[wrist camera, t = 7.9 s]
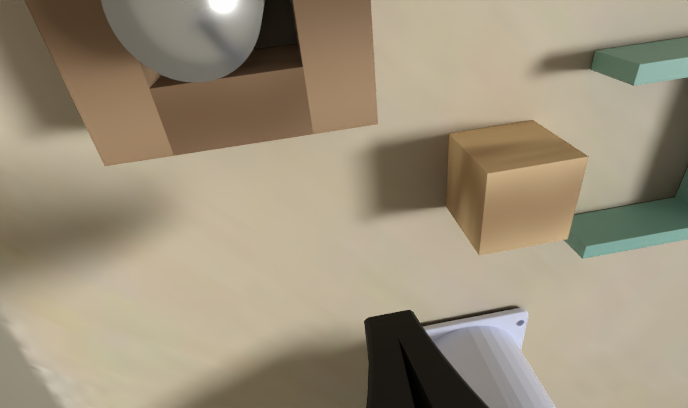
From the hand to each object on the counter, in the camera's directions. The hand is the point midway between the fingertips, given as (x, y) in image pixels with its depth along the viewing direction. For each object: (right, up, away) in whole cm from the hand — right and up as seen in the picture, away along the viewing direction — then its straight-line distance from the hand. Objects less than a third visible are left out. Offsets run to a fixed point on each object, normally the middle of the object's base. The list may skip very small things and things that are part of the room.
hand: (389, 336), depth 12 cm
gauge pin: (-6, +11, +2) cm, 13 cm away
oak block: (+6, +6, +8) cm, 11 cm away
